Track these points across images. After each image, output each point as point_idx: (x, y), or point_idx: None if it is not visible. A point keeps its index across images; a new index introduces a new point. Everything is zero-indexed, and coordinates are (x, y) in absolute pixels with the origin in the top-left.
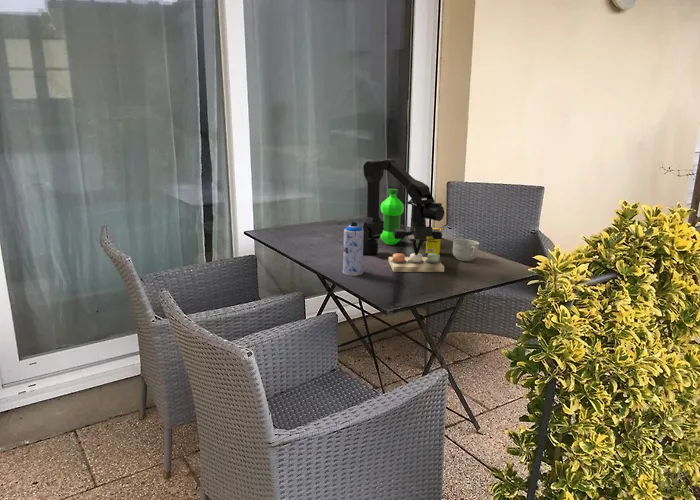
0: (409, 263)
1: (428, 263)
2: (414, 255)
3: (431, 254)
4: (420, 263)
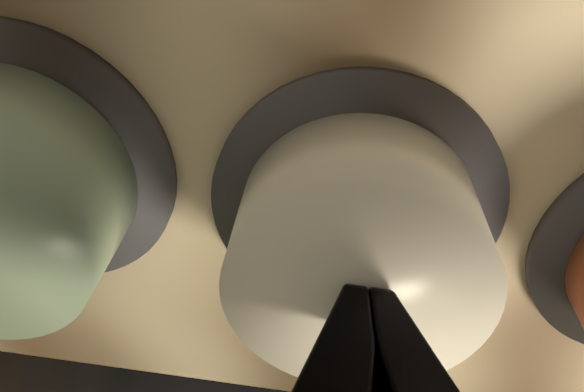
0: (538, 120)
1: (136, 70)
2: (425, 270)
3: (1, 279)
4: (311, 75)
